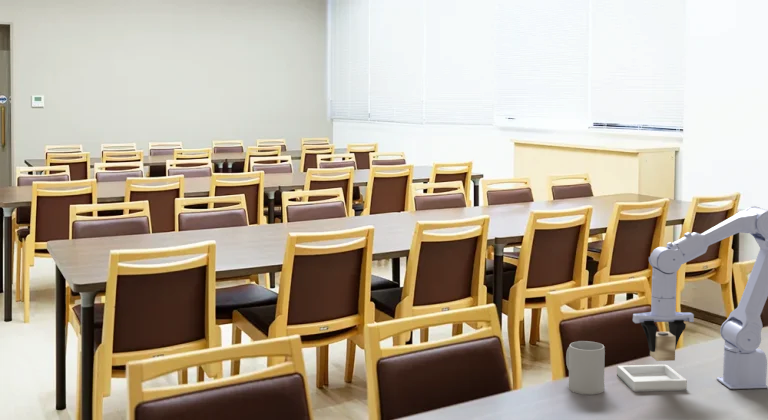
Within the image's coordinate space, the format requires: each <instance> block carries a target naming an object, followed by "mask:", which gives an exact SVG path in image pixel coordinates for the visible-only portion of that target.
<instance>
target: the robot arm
mask: <svg viewBox="0 0 768 420" xmlns="http://www.w3.org/2000/svg"><path fill="white" fill-rule="evenodd" d="M738 233H739V234H740V233H741V234H743V233H744V234H750V235H751V236H752V237H753V238H754V240H755V241H756V243H757V244H758V247H759V251H758V254H757V256H756V259H755V261H754V264H753V266H752V268H751V269H752V270H751V271H750V274H749V277H748V280H747V282H746V285H745V288H744V290H743V292H742V295H741V298H740V300H739V303H738V305H737V307H736V308H735V309H732V311H730V313H729V316H728V317H727V319H725V321H724V322H723V323H722V324H721V326H720V332H719V333H720V337H721V338H722V339H723V340H724V345H723V366H722V367H723V369H722V370H723V372H722V376H717V377H716V380H717V381H718V382H719V383H721V384H723V385H724V386H725V387H727V388H728V389H730V390H741V389H742V390H743V389H747V390H748V389H767V388H768V385H767V369H768V363H767V362H768V360H767V355H766V352H765V351H764V350H763V349H762V348H759V347H760V345H761V343H762V329H763V326H764V325H763V322H762V319H761V318H762V317H761V315H762V313H763V309H764V308H765V307H764V306H765V304H766V301H767V299H768V209H765V208H761V207H758V206H755V205H754V206H753V205H752V206H749V207H747V208H746V209H745V210H740V211H738V212H737V213H735V214H733V215H732V216H730V217H728V218H727V219H724V220H723V221H721V222H719V223H718V224H716V225H715V226H712V227H711V228H709V229H707V230H705V231H704V232H702V233H699V232H697V231H696V232H694V231H693V232H689V231H687V232H685V233H684V234H683V236H682V237H681V238H679V239H677V240H675V241H673V242H671V241H669V242H667V243H666V246H658V247H656V248H654V249H653V250H652V252H650V256H648V262H649V265H650V266H651V267H652V274H651V297H650V298H651V301H650V302H651V303H650V304H651V307H650V309H651V310H650V311H648V312H638V313H632V322H633V323H634V324H640V325H641V327H642V329H643V331H644V334H645V337H646V340H647V344H648V350H649V352H650V351H651V352H655V338H656V332H658V331H657V330H658V326H657V325H656V323H668V332H670V333H671V334H673V335H674V336H676V344H675V351H676V349H677V345H678V343H679V340H680V339H681V336H682V334H683V332H684V330H686V327H687V324H686V323H685V322H689V323H694V322H695V321H694V319H695V318H694V317H695V314H694V313H693V312H681V311H680V312H679V311H677V310H676V309H677V308H676V307H677V284H678V283H677V281H678V279H677V278H678V277H677V274H678V271H679V270H680V269H681V267H682V265H684V264H686V263H688V262H690V261H692V260H694V259H696V258H698V257H700V256H702V255H704V254H706V253H707V250H708V249H709V246H711V245H713V244H716V243H718V242H720V241H722V240H724V239H728V238H729V237H732V236H734V235H737V234H738Z"/></svg>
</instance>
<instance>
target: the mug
mask: <svg viewBox="0 0 768 420" xmlns="http://www.w3.org/2000/svg"><path fill="white" fill-rule="evenodd" d="M568 345H569V346H568V347H567V350H566V353H565V354H566V356H565V362H566V366H567V367H566V368H567V370H568V389H569V390H570V391H571V392H572V393H575V394H579V395H587V396H588V395H590V396H591V395H599V394H601V393H604V391H605V355H606V352H605V351H606V349H605V348H606V347H605V346H604V344H602V343H600V342H595V341H591V340H590V341H588V340H578V341H574V342H571V343H570V344H568Z"/></svg>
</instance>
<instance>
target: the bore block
mask: <svg viewBox="0 0 768 420" xmlns="http://www.w3.org/2000/svg"><path fill="white" fill-rule="evenodd" d="M675 344H676V336H674V335H673V334H671V333H670V332H669V331H656V338H655V352H651V351H650V350H649V356H650V357H651V358H652V359H654V360H655V361H656V362H659V361H660V362H662V361H663V362H665V361H669V362H671V361H675V360H676V350H675Z"/></svg>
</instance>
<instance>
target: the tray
mask: <svg viewBox="0 0 768 420" xmlns="http://www.w3.org/2000/svg"><path fill="white" fill-rule="evenodd" d="M616 376H617V377H618V378H619V379H620V380H621V381H622V382H623V383H625V385H626V386H627V387H628V388H630V390H631V391H633V392H635V393H637V392H638V393H639V392H670V391H677V392H679V391H687V389H688V387H687V386H688V385H687V384H688V380H687V379H686V378H685V377H684V376H683V375H681V374H680V373H678V372H677V371H676V370H675V369H673V368H672V367H671V366H669V365H668V364H633V365H629V364H628V365H617V366H616Z"/></svg>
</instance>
